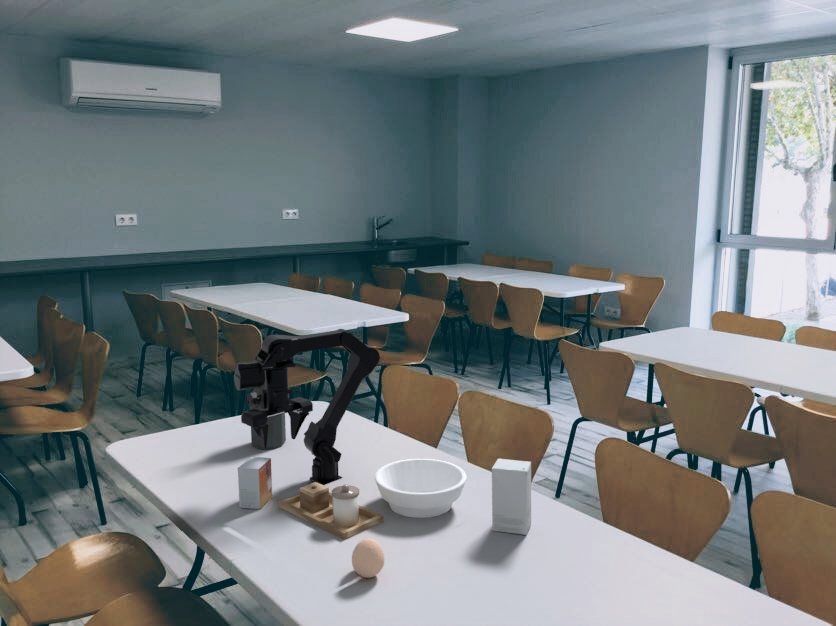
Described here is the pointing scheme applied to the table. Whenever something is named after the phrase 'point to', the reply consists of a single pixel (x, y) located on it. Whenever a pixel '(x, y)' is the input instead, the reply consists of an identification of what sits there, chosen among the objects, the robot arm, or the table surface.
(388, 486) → the bowl
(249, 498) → the small box
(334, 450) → the robot arm
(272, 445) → the bottle
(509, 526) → the skincare box
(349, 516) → the sugar jar
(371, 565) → the egg
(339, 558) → the table surface
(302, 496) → the beige box
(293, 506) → the caddy
